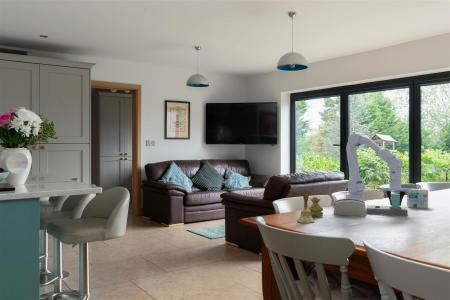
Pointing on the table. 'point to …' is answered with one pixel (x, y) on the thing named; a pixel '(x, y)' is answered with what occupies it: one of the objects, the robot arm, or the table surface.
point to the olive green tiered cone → (315, 208)
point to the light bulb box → (417, 198)
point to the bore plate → (386, 210)
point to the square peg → (395, 201)
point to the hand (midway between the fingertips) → (395, 205)
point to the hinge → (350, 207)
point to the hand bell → (305, 210)
